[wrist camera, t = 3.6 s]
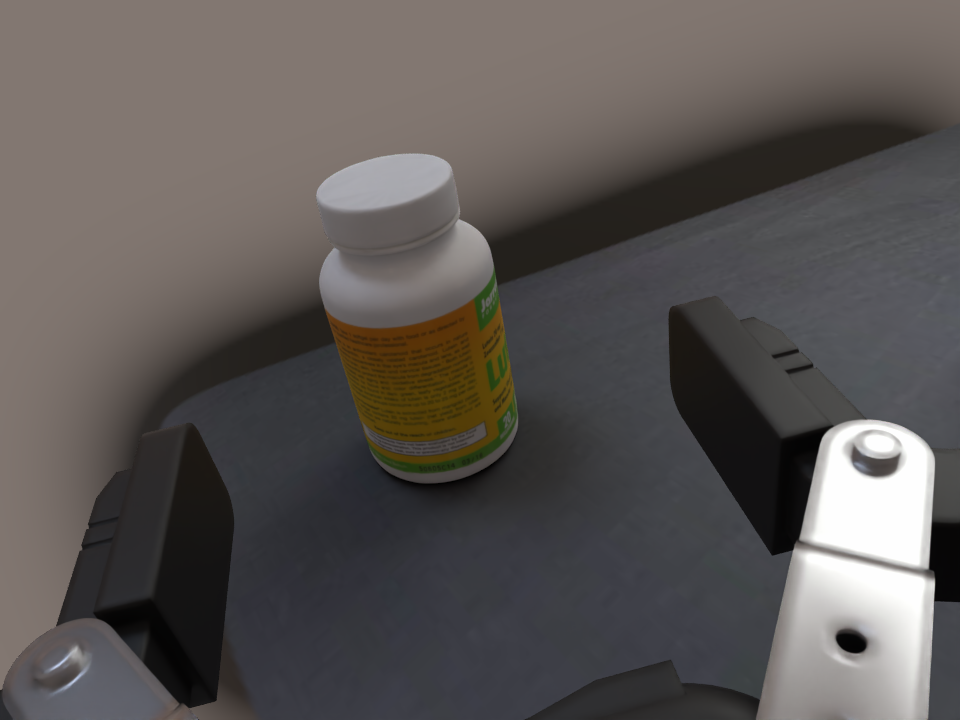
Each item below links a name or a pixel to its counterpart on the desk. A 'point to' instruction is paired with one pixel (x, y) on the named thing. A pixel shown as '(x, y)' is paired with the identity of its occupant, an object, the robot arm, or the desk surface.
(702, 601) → the desk surface
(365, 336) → the supplement bottle
